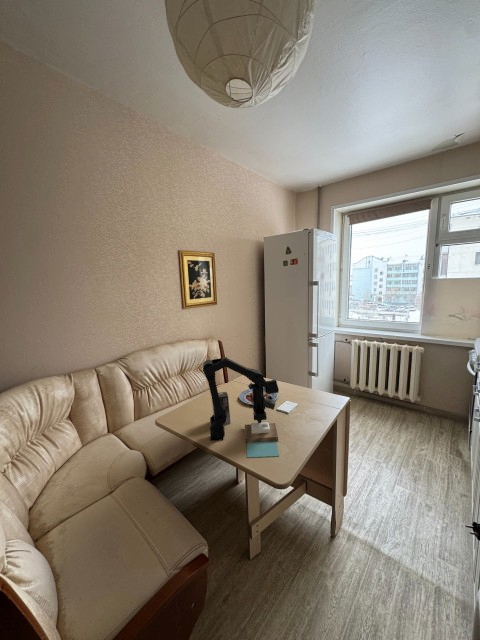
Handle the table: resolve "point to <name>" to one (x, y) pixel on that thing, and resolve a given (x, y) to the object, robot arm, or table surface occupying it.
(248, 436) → the brown flat block
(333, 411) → the table surface
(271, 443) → the mat
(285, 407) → the external hard drive
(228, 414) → the coffee box
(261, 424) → the white panel with tab
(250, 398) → the ceramic plate
